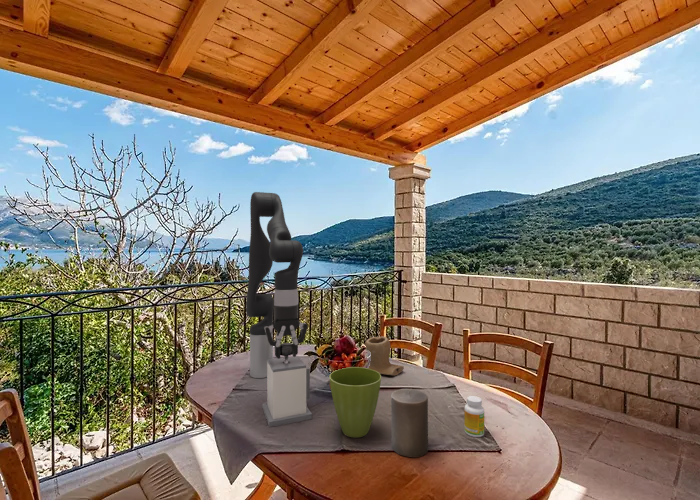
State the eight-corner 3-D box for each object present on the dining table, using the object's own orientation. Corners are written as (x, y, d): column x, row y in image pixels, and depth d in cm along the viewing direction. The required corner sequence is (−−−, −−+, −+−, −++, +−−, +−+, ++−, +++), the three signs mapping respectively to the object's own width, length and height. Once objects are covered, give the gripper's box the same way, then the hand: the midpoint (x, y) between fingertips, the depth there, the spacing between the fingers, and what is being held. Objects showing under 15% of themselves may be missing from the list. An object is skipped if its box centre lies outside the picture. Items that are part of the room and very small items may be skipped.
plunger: (271, 400, 114) (271, 342, 114) (295, 396, 117) (295, 340, 117) (276, 411, 107) (276, 349, 107) (301, 406, 110) (301, 346, 110)
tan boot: (359, 374, 146) (359, 338, 146) (372, 366, 157) (372, 332, 157) (393, 381, 139) (393, 343, 139) (404, 372, 149) (404, 336, 149)
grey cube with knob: (262, 408, 116) (262, 358, 115) (303, 401, 121) (303, 353, 121) (269, 427, 104) (269, 371, 103) (315, 418, 109) (315, 365, 109)
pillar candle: (435, 454, 90) (435, 395, 90) (400, 460, 87) (400, 400, 87) (417, 435, 99) (417, 382, 100) (385, 440, 97) (385, 385, 97)
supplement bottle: (482, 439, 97) (482, 404, 97) (462, 434, 100) (462, 400, 100) (486, 431, 102) (486, 397, 101) (466, 426, 104) (467, 393, 104)
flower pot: (322, 423, 106) (322, 370, 105) (366, 414, 111) (367, 364, 111) (340, 450, 92) (340, 389, 92) (390, 438, 98) (390, 380, 98)
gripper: (304, 300, 118) (304, 351, 118) (261, 302, 112) (261, 356, 113) (311, 303, 111) (311, 357, 111) (265, 306, 106) (265, 363, 106)
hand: (286, 356), depth 112 cm, fingers open, 4 cm apart
